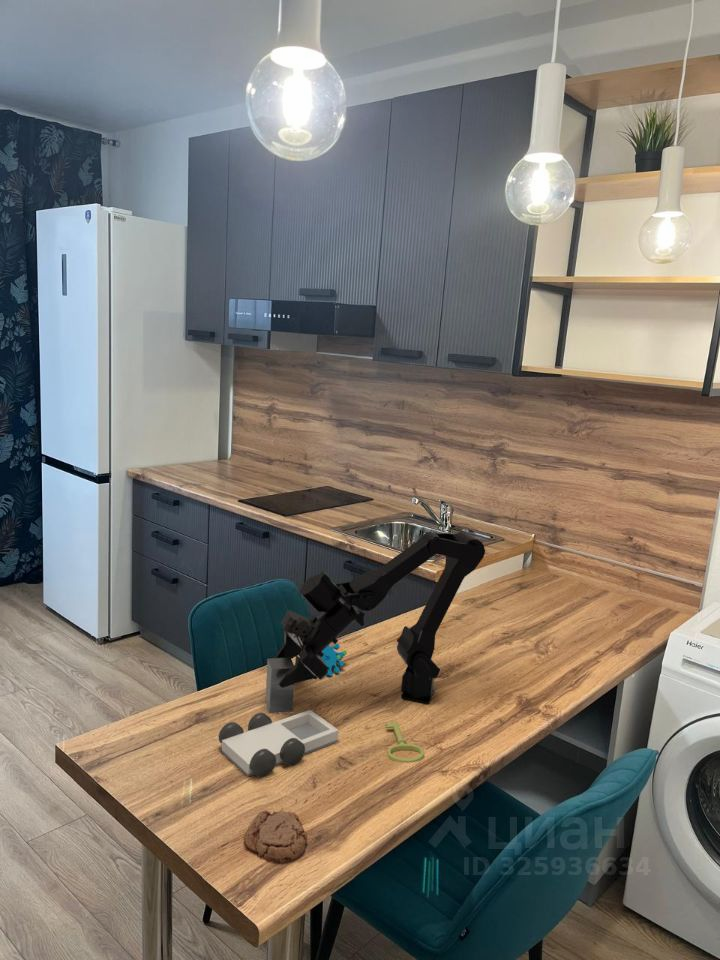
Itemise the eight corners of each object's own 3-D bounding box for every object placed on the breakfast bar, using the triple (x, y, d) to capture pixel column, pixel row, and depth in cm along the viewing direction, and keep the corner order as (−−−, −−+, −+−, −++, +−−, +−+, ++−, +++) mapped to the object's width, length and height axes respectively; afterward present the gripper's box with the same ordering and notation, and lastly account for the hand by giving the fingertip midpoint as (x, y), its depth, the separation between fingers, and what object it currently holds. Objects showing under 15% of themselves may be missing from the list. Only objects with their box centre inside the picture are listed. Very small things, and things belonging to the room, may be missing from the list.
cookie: (275, 874, 108) (276, 857, 108) (231, 838, 115) (232, 821, 115) (323, 843, 116) (324, 827, 115) (278, 811, 123) (279, 795, 122)
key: (395, 728, 152) (395, 719, 151) (428, 760, 141) (429, 750, 141) (364, 735, 148) (365, 726, 148) (396, 769, 138) (397, 758, 137)
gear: (313, 675, 168) (304, 634, 173) (301, 684, 172) (293, 644, 177) (353, 673, 174) (344, 634, 179) (341, 682, 178) (332, 643, 183)
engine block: (288, 699, 159) (290, 657, 157) (292, 711, 154) (295, 667, 152) (265, 701, 158) (267, 658, 156) (269, 713, 153) (271, 669, 151)
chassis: (304, 717, 152) (306, 697, 151) (342, 745, 143) (344, 724, 142) (217, 748, 139) (218, 726, 138) (253, 781, 130) (254, 757, 129)
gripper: (297, 585, 161) (244, 633, 160) (316, 617, 144) (257, 672, 143) (328, 617, 165) (277, 665, 164) (351, 652, 148) (294, 706, 147)
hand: (276, 675), depth 154 cm, fingers open, 9 cm apart
